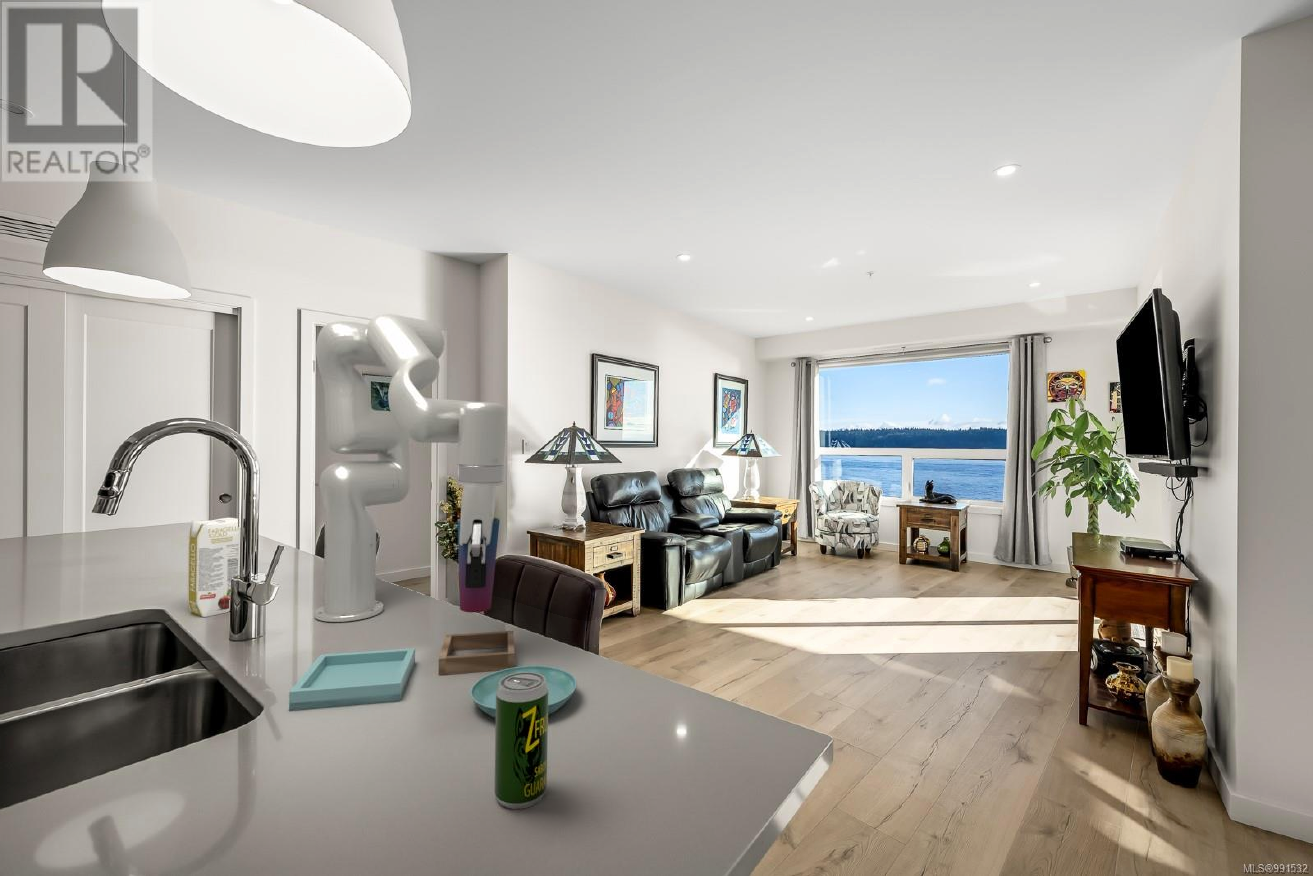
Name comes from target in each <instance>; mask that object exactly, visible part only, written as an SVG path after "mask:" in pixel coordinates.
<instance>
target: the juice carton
mask: <svg viewBox="0 0 1313 876" xmlns="http://www.w3.org/2000/svg"><path fill="white" fill-rule="evenodd" d="M238 519H239V518H237V517H223V518H217V519H213V520H191V522H190V524H189V530H188V537H187V541H188V544H187V603H188V609H189V611H190V613H192V614H195V615H196V616H199V617H202V618H207V617H213V616H216V615H222V614H225V613H230V612H229V600H230V592H231V580H232V578H233V577H234V576H235V575H237V574H238V548H239V527H238Z"/></svg>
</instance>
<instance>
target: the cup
mask: <svg viewBox="0 0 1313 876" xmlns="http://www.w3.org/2000/svg"><path fill="white" fill-rule="evenodd" d="M460 522H461V517H460V518H458V519H457V544H458V546H457V549H458V579H459V580H458V581H459V583H458V584H459V586H458V587H459V609H460V611H462V612H465V613H483V612H485V611H488V610H490V609H491V608H492V600H493V590H494V581H495V580H494V579H495V569H496V561H497V548H498V540H499V529H500V518H498V517H494V522H493V526H492V534H491V540H490V544H489V545H487V546H486V551H485V563H487V565H486V586H485V587H484V588H466V587H465V577H466V563H467V559H468V542H469V539H468V542H467V544H464V545H463V546H461V545H460V544H459V539H460ZM473 526H474V523H473ZM481 531H482V526H481ZM483 543H484V536H483V539H481V541H480V544H483ZM471 544H472V539H471ZM480 549H482V548H480Z"/></svg>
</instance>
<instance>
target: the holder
mask: <svg viewBox="0 0 1313 876" xmlns="http://www.w3.org/2000/svg"><path fill="white" fill-rule="evenodd" d="M514 634H515V633H514V630H501V631H486V632H485V631H484V632H472V633H471V632H470V633H469V632H468V633H453V634H445V638H444V641H443V644H442V647H441V650H440V654H439V657H438V676H443V675H458V674H469V673H480V672H482V673H483V672H497V671H501V670H504V669H508V668H514V667H515V639H514V637H515V636H514ZM492 648H493V649H494V648H495V649H496V648H507V651H504V652H503V651H502V652H501V651H500V652H489V653H487V652H485V653H475V654H461V655H451V654H452V652H453V651H464V650H466V651H467V650H479V649H481V650H483V649H492Z"/></svg>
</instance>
